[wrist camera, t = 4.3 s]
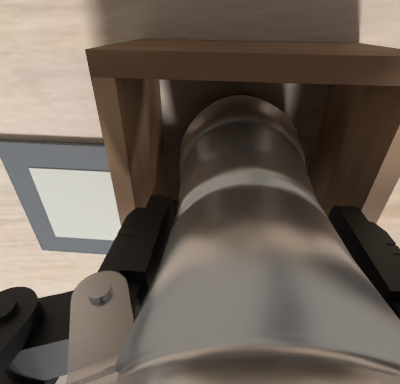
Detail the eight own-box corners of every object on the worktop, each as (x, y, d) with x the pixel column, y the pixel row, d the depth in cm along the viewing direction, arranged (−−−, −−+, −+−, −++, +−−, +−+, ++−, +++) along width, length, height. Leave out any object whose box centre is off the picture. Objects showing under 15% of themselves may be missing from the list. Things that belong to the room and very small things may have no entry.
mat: (-2, 139, 17) (-8, 142, 17) (144, 146, 17) (142, 149, 16) (44, 246, 23) (41, 250, 22) (156, 254, 22) (155, 258, 22)
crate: (141, 38, 13) (85, 49, 8) (359, 43, 13) (459, 58, 7) (157, 208, 19) (131, 279, 14) (306, 217, 19) (339, 295, 13)
